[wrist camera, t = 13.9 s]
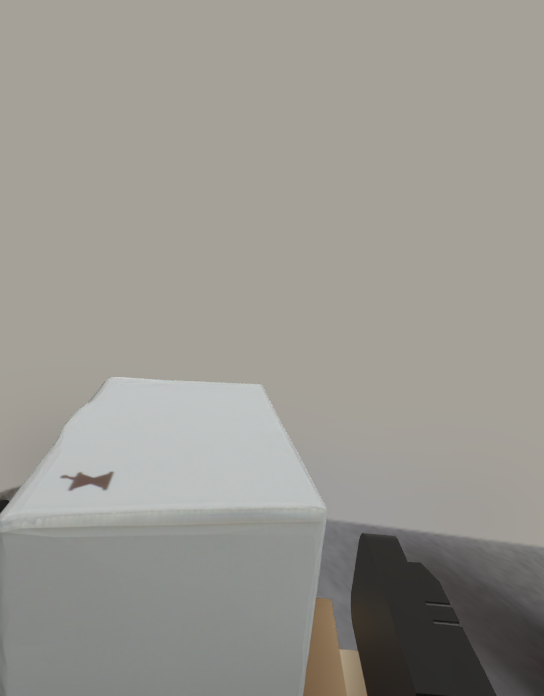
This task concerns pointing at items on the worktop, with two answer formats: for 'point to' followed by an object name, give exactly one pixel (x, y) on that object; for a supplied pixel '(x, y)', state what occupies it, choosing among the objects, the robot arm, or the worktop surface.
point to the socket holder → (331, 659)
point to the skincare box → (162, 550)
